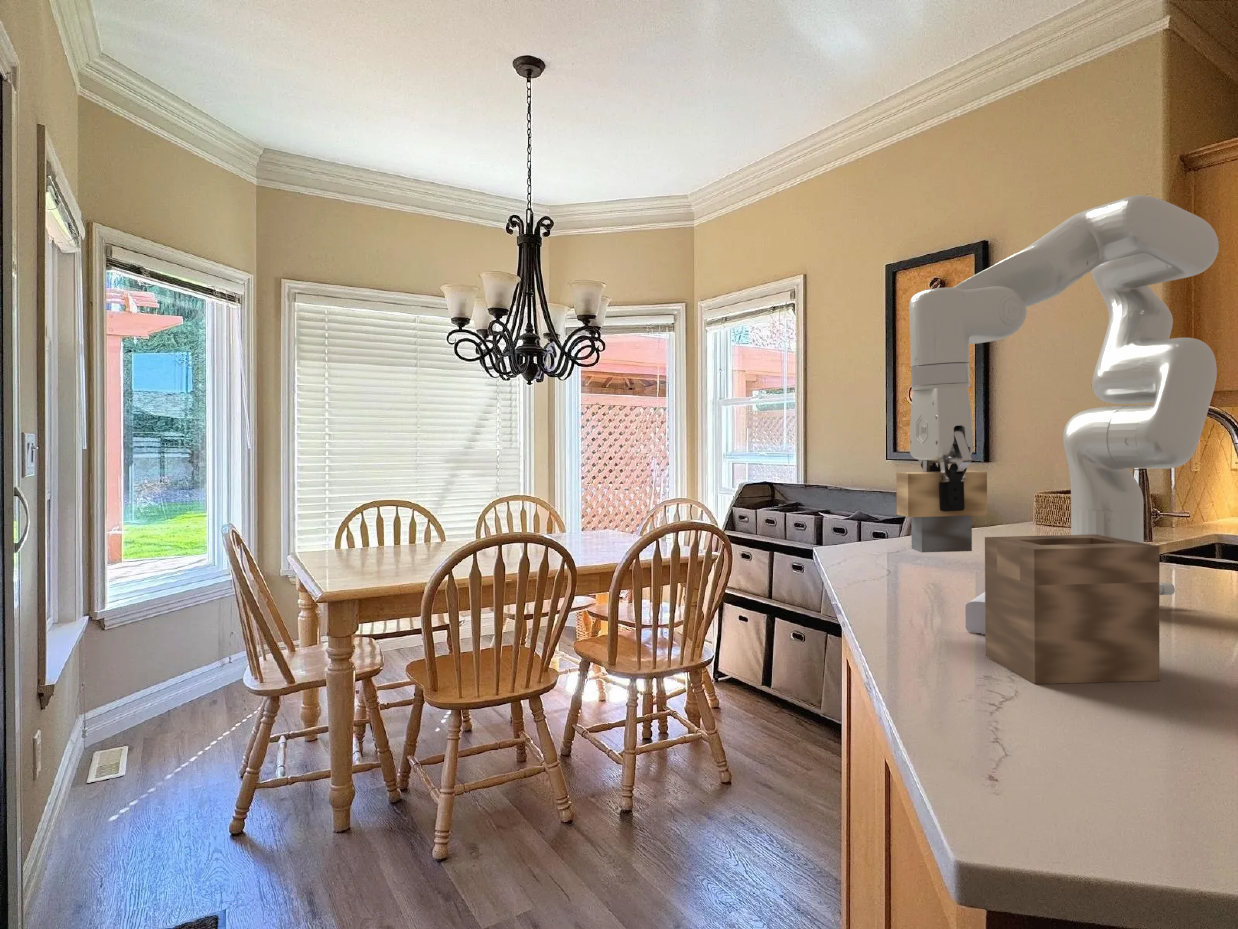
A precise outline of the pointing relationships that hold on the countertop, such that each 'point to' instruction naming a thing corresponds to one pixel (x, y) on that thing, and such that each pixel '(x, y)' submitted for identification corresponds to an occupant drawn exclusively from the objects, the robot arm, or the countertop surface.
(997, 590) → the wooden crate
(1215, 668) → the countertop surface
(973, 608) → the charger
